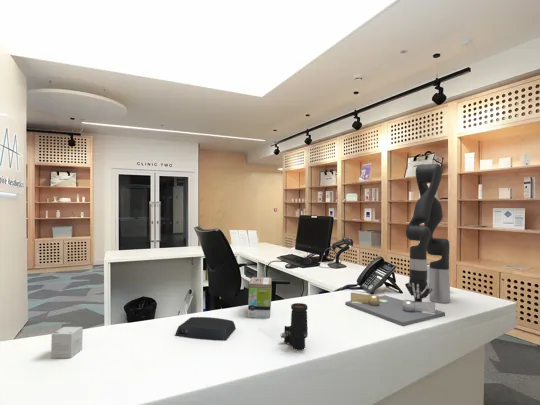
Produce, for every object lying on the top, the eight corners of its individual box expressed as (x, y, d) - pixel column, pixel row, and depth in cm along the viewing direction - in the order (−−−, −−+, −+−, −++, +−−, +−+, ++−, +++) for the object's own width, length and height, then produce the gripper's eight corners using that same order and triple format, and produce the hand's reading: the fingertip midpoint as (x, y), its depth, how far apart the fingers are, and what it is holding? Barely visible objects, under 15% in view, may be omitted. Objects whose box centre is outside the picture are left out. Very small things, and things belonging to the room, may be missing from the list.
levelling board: (385, 298, 165) (385, 293, 165) (445, 315, 136) (445, 310, 136) (345, 304, 151) (345, 300, 151) (403, 326, 122) (402, 320, 122)
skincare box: (82, 349, 97) (83, 326, 97) (70, 358, 90) (71, 333, 91) (63, 349, 96) (64, 326, 97) (49, 358, 90) (51, 333, 91)
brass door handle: (380, 303, 148) (380, 295, 148) (378, 306, 143) (378, 297, 144) (352, 299, 154) (352, 291, 154) (349, 301, 150) (349, 293, 150)
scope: (299, 299, 109) (316, 306, 100) (299, 338, 108) (316, 349, 99) (279, 302, 105) (295, 310, 96) (279, 342, 104) (295, 354, 95)
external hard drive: (190, 325, 121) (190, 314, 121) (236, 329, 117) (236, 318, 117) (173, 337, 108) (174, 326, 108) (225, 343, 104) (225, 331, 105)
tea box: (270, 318, 129) (271, 283, 130) (247, 318, 129) (248, 283, 130) (271, 308, 144) (271, 276, 145) (250, 307, 144) (250, 276, 145)
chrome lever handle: (404, 311, 136) (404, 302, 136) (401, 308, 141) (401, 299, 141) (436, 313, 134) (436, 304, 134) (432, 310, 139) (432, 301, 139)
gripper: (436, 270, 137) (436, 309, 136) (410, 265, 148) (410, 301, 148) (426, 271, 133) (426, 311, 132) (400, 266, 145) (400, 303, 144)
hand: (418, 306), depth 140 cm, fingers closed
